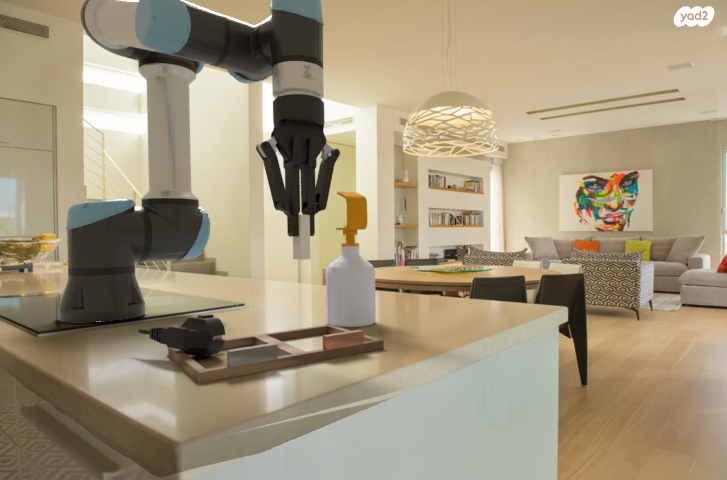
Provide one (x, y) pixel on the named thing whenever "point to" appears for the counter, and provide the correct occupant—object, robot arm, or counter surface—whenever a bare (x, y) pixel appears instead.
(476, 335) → the counter surface
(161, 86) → the robot arm
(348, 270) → the soap bottle
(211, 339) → the power plug
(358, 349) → the strip
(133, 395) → the counter surface
